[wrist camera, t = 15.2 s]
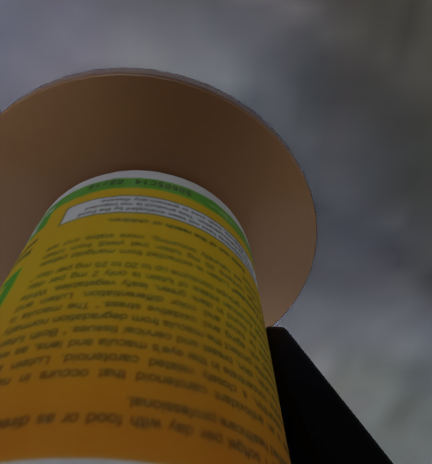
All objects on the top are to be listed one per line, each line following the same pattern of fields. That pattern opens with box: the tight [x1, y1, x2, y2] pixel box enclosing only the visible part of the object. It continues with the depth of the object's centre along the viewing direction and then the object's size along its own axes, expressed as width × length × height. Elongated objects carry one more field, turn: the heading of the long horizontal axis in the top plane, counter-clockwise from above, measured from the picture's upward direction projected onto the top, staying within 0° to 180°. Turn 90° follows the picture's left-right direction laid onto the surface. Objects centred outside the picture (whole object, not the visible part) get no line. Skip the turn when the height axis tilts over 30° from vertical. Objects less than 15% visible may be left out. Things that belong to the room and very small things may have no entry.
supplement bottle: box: [0, 170, 291, 464], centre depth 6 cm, size 5×5×10 cm
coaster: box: [0, 68, 317, 328], centre depth 11 cm, size 9×9×1 cm
